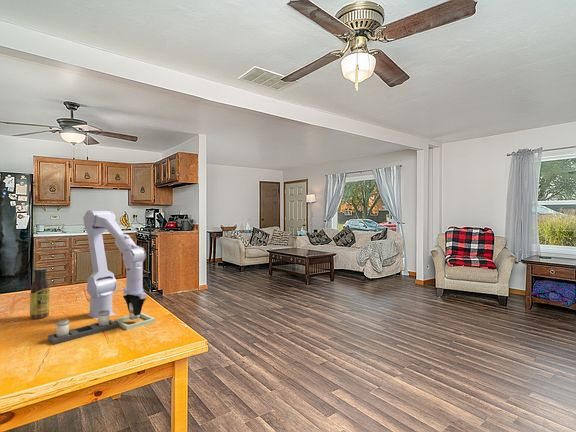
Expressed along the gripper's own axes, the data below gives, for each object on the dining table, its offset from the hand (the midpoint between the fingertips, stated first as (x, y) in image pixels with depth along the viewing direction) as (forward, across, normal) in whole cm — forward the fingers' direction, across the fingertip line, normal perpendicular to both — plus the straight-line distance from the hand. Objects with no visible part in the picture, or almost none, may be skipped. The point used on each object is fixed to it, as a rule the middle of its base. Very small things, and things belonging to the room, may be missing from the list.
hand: (134, 313), depth 125 cm
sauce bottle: (+4, -37, -22) cm, 43 cm away
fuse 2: (+3, -3, -10) cm, 11 cm away
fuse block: (+4, -3, -16) cm, 17 cm away
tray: (+4, 0, 0) cm, 4 cm away
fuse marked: (+2, 0, 0) cm, 2 cm away
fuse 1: (+3, -3, -23) cm, 23 cm away
